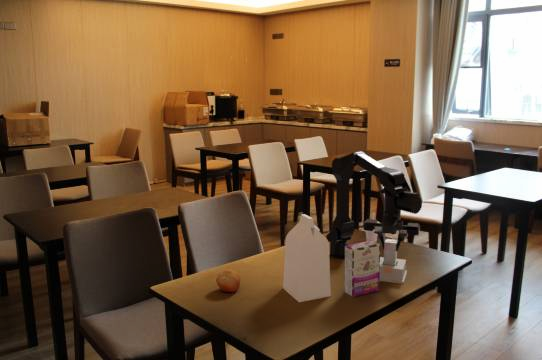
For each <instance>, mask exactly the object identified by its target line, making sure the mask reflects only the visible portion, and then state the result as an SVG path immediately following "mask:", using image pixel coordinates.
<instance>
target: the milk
mask: <svg viewBox="0 0 542 360" xmlns="http://www.w3.org/2000/svg"><path fill="white" fill-rule="evenodd" d="M284 246H285V247H284V263H283V264H284V266H283V282H282V283H283V286H282V289H283V290H284V291H286V292H287V293H288V294H289V295H290V296H291V297H292V298H293V299H295V300H296V301H297V302H298V303H303V302H306V301H307V302H308V301H311V300H312V301H313V300H317V299H322V298H328V297H331V296H332V293H331V269H330V265H331V264H330V257H329V255H330V242H328V240H327V238H326V235H325V236H324V235H323V234H322V232H321V229H320V228H319V227H318V226H317V225H315V222H314V218H313V217H311V216H309V215H307V214H305V213H303V214H302V213H301V214H300V217H299V222H297V224H295V225H294V226H293V227H292V228H291V229H290V231H289V232H288V233H287V234H286V236H285V245H284Z"/></svg>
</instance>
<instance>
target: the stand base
mask: <svg viewBox="0 0 542 360" xmlns="http://www.w3.org/2000/svg"><path fill="white" fill-rule="evenodd" d="M383 263H384V256H383V257H382V256H380V279H379V282H386V283H393V284H394V283H395V284H401V285H404V284H405V282H406V281H405V280H406V278H407V274H408V270H406V269H407V266H406V265H407V259H402V258H397V265H396V266H391V265H383Z"/></svg>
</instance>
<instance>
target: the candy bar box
mask: <svg viewBox="0 0 542 360" xmlns="http://www.w3.org/2000/svg"><path fill="white" fill-rule="evenodd" d="M380 257H381V244H380V243H379V242H377V241H376V242H374V241H367V240H365V241H361V242H358V243H352V244H348V245H347V246H345V259H344V293H345V294H347V295H348V296H350V297H352V298H356V297H359V296H364V295H367V294H372V293H374V292H375V293H376V292H379V291H380V281H379V279H380Z"/></svg>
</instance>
